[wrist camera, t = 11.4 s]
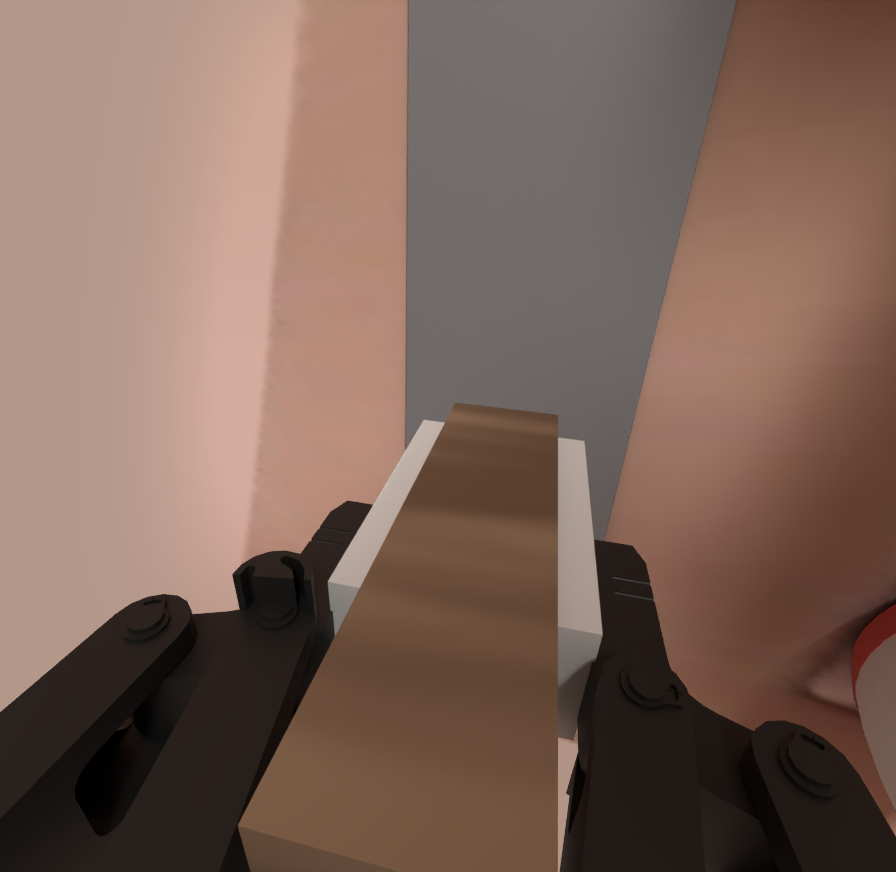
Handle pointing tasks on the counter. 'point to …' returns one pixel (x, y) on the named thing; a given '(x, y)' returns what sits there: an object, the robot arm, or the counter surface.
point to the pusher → (436, 679)
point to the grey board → (550, 204)
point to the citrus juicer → (878, 693)
